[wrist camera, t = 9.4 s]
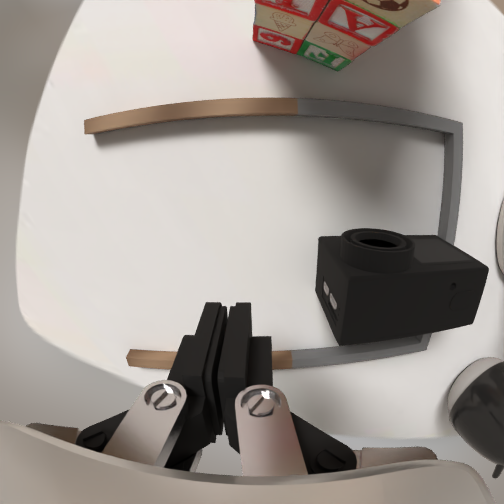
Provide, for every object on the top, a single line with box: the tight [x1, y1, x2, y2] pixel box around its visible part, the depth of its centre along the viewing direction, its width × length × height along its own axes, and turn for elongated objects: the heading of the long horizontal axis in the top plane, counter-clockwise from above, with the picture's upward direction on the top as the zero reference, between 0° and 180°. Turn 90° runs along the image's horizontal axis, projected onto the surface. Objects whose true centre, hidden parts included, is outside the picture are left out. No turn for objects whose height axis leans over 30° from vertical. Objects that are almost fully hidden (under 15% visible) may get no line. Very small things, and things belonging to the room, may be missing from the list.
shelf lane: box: [84, 98, 298, 370], centre depth 20 cm, size 14×20×1 cm
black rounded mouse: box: [448, 357, 504, 478], centre depth 19 cm, size 10×10×15 cm
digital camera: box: [315, 228, 489, 346], centre depth 17 cm, size 10×5×7 cm, turn 91°
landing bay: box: [291, 98, 463, 368], centre depth 20 cm, size 13×20×1 cm, turn 2°
